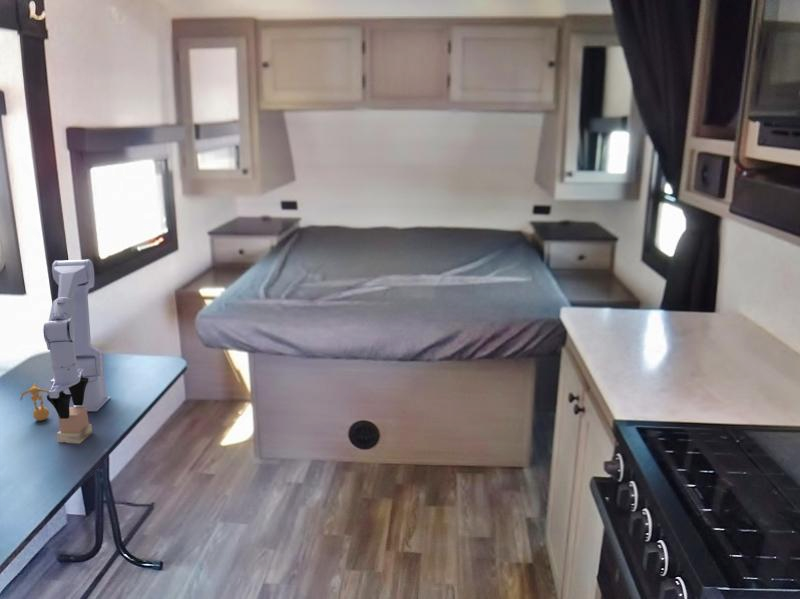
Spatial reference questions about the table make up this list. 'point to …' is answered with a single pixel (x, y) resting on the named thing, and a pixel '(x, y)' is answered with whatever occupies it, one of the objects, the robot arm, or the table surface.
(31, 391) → the figurine
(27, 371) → the table surface
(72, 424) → the terracotta cube
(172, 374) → the table surface
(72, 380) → the robot arm
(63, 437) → the birch base block
